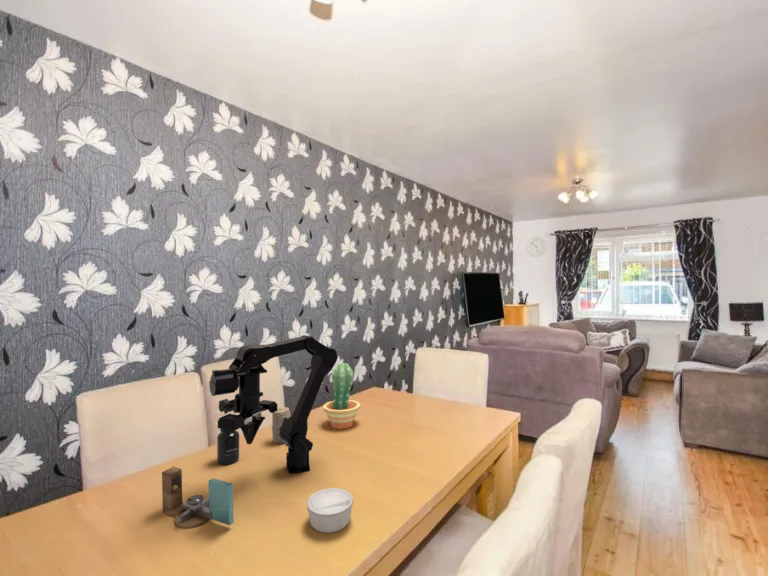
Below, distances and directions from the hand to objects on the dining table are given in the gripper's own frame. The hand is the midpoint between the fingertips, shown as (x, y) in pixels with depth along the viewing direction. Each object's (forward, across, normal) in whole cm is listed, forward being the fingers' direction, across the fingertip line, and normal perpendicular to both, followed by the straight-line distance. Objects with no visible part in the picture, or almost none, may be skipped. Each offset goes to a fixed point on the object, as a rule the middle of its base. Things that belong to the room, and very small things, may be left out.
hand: (249, 443), depth 111 cm
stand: (+12, +17, -5) cm, 21 cm away
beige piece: (+12, -29, -10) cm, 33 cm away
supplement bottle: (+12, -10, -17) cm, 23 cm away
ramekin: (+12, +7, +30) cm, 33 cm away
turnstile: (+11, +17, +2) cm, 20 cm away
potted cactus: (+11, -51, +3) cm, 53 cm away
